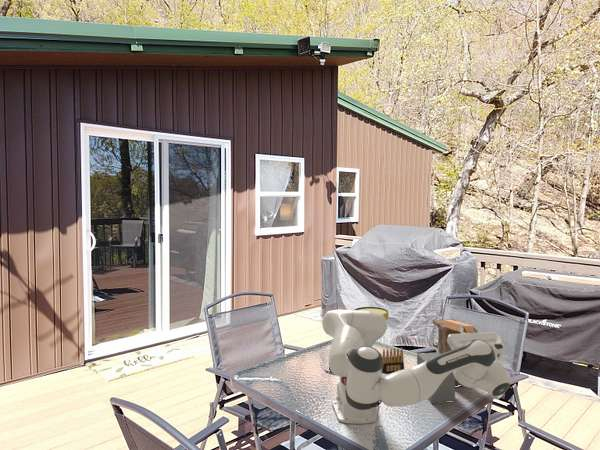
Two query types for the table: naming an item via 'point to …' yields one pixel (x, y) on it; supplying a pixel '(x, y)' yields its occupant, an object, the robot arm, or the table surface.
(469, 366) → the robot arm
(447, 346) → the wooden pedestal stand
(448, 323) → the wooden bar
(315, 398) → the table surface
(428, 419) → the table surface
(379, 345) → the table surface
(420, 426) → the table surface
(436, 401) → the grey concrete block
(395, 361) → the ammunition clip
